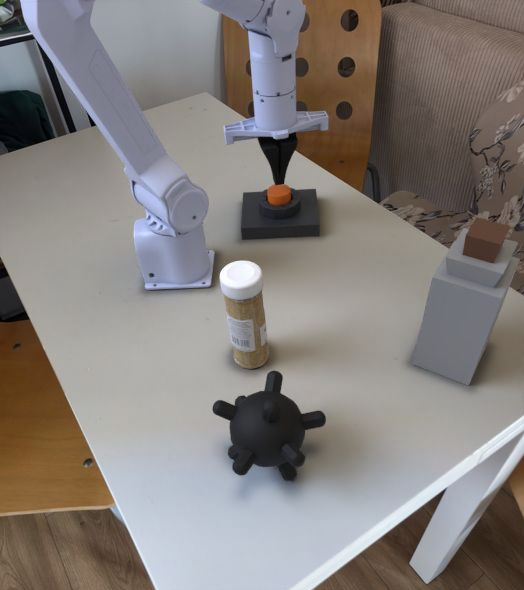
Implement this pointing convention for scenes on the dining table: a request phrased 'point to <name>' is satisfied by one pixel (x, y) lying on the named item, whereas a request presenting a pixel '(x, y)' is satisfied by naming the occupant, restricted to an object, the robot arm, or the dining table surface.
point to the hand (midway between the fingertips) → (278, 181)
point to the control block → (280, 216)
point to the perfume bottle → (466, 300)
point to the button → (279, 194)
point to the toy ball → (267, 429)
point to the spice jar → (245, 312)
